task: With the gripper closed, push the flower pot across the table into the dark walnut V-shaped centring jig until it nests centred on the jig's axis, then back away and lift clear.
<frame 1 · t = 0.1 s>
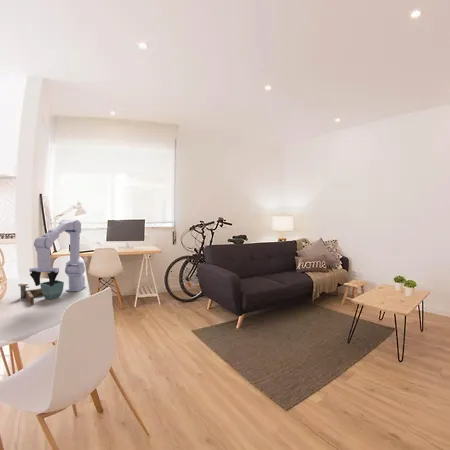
hand: (44, 285, 142), 10 cm above the table, fingers open, 7 cm apart
v jig: (40, 297, 153), on the table
flower pot: (52, 298, 153), on the table
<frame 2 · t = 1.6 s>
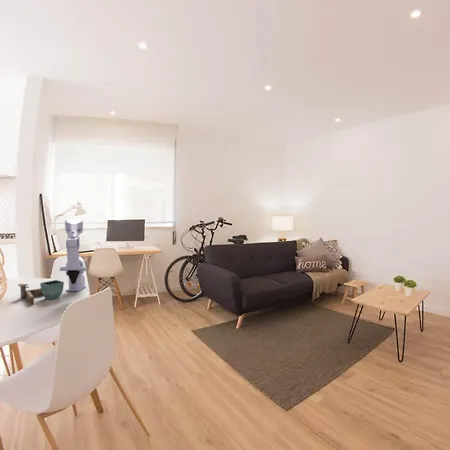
hand: (73, 283, 152), 8 cm above the table, fingers closed
nothing on the table moved.
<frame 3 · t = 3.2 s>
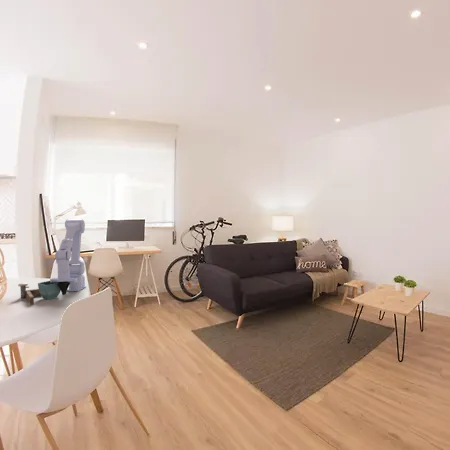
hand: (64, 294, 153), 2 cm above the table, fingers closed
flower pot: (50, 298, 153), on the table, touching gripper
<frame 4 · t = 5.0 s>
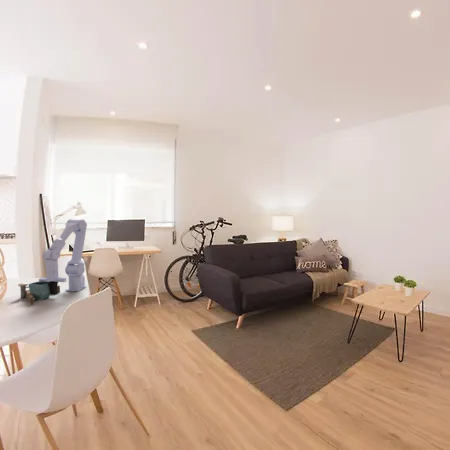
hand: (53, 294, 154), 2 cm above the table, fingers closed, pressing on flower pot
flower pot: (41, 298, 152), on the table, touching gripper, v jig
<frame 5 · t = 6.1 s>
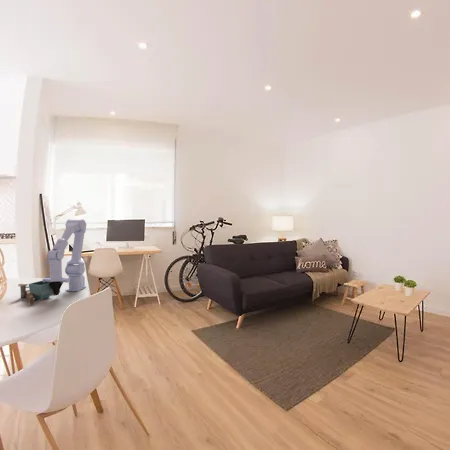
hand: (56, 294, 153), 2 cm above the table, fingers closed
flower pot: (42, 298, 152), on the table
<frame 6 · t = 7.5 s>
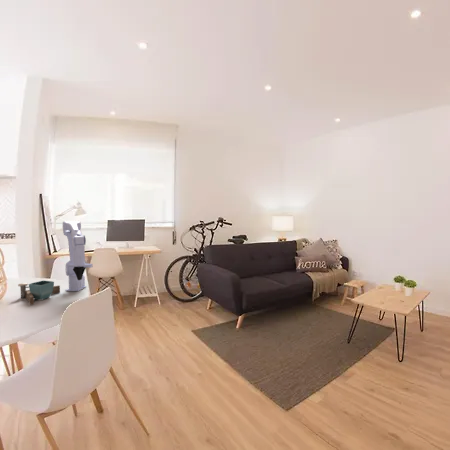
hand: (79, 279, 157), 9 cm above the table, fingers closed
nothing on the table moved.
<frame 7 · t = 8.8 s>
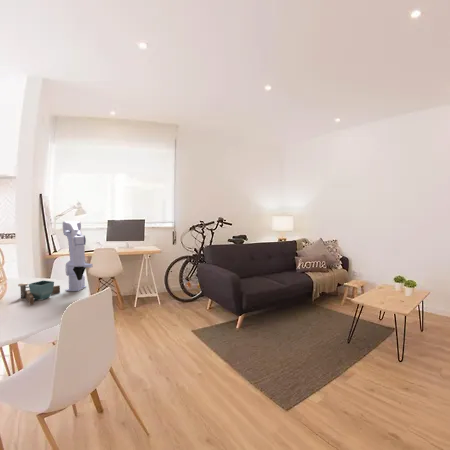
hand: (79, 279, 157), 9 cm above the table, fingers closed
nothing on the table moved.
at the end: flower pot 1.8 cm from the v jig (horizontally); flower pot tilted 0°; flower pot moved 5.5 cm from its start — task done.
